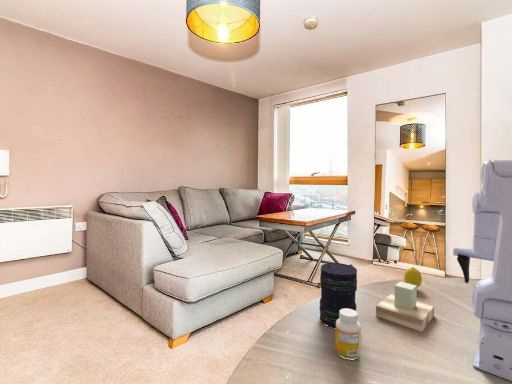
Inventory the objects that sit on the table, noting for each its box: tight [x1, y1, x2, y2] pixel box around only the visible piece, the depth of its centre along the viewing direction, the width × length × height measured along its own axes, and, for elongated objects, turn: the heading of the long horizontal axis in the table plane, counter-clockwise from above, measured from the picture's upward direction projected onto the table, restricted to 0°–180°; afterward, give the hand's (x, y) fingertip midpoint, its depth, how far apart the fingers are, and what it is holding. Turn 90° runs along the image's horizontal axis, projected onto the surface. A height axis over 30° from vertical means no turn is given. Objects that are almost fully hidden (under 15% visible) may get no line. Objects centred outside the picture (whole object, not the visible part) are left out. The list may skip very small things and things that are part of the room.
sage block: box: [394, 281, 418, 311], centre depth 82 cm, size 4×4×6 cm
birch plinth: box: [375, 293, 435, 333], centre depth 82 cm, size 12×12×3 cm
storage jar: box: [319, 262, 358, 329], centre depth 79 cm, size 10×10×15 cm
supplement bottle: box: [334, 308, 362, 359], centre depth 64 cm, size 5×5×10 cm
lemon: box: [403, 266, 423, 288], centre depth 102 cm, size 6×6×8 cm
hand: (484, 285), depth 78 cm, fingers open, 7 cm apart
